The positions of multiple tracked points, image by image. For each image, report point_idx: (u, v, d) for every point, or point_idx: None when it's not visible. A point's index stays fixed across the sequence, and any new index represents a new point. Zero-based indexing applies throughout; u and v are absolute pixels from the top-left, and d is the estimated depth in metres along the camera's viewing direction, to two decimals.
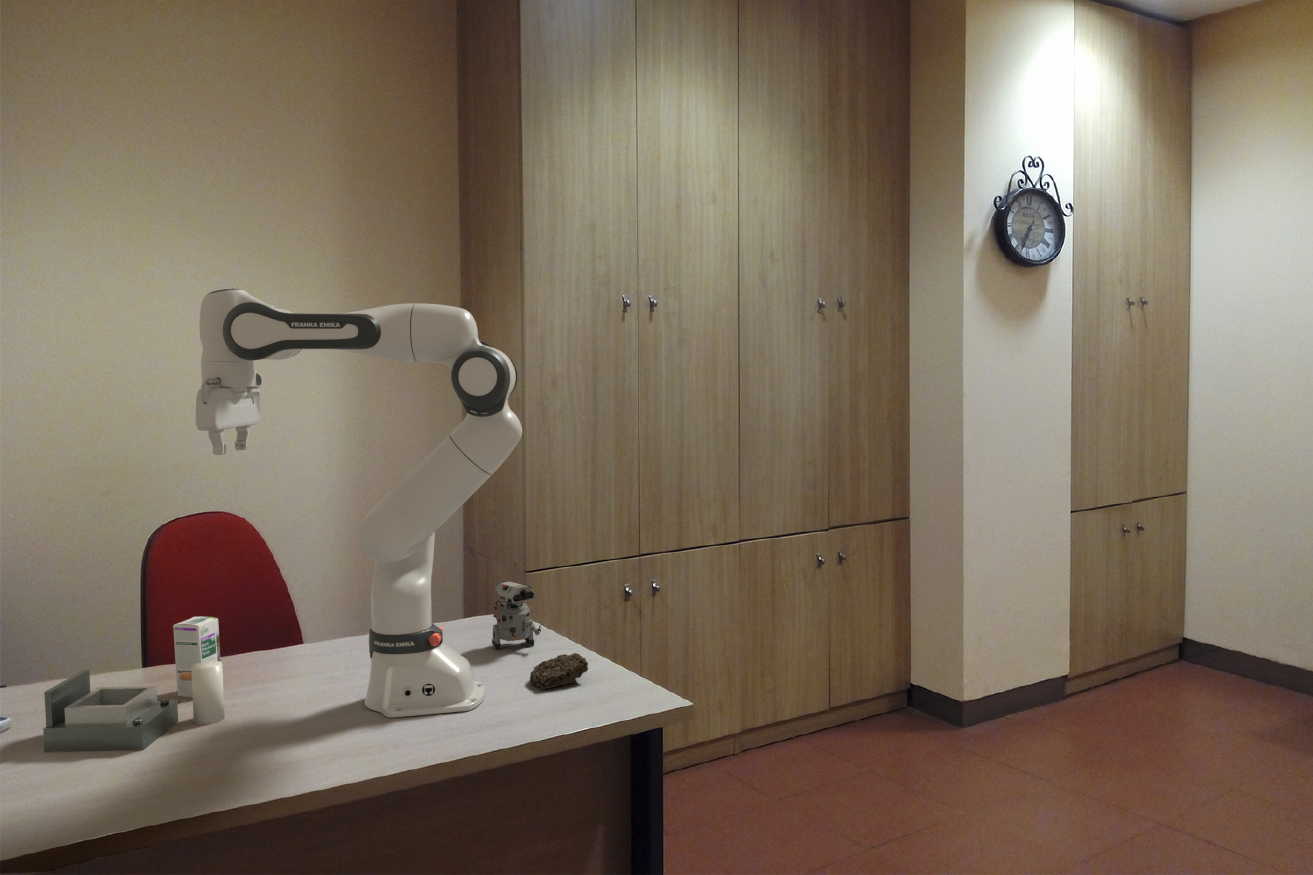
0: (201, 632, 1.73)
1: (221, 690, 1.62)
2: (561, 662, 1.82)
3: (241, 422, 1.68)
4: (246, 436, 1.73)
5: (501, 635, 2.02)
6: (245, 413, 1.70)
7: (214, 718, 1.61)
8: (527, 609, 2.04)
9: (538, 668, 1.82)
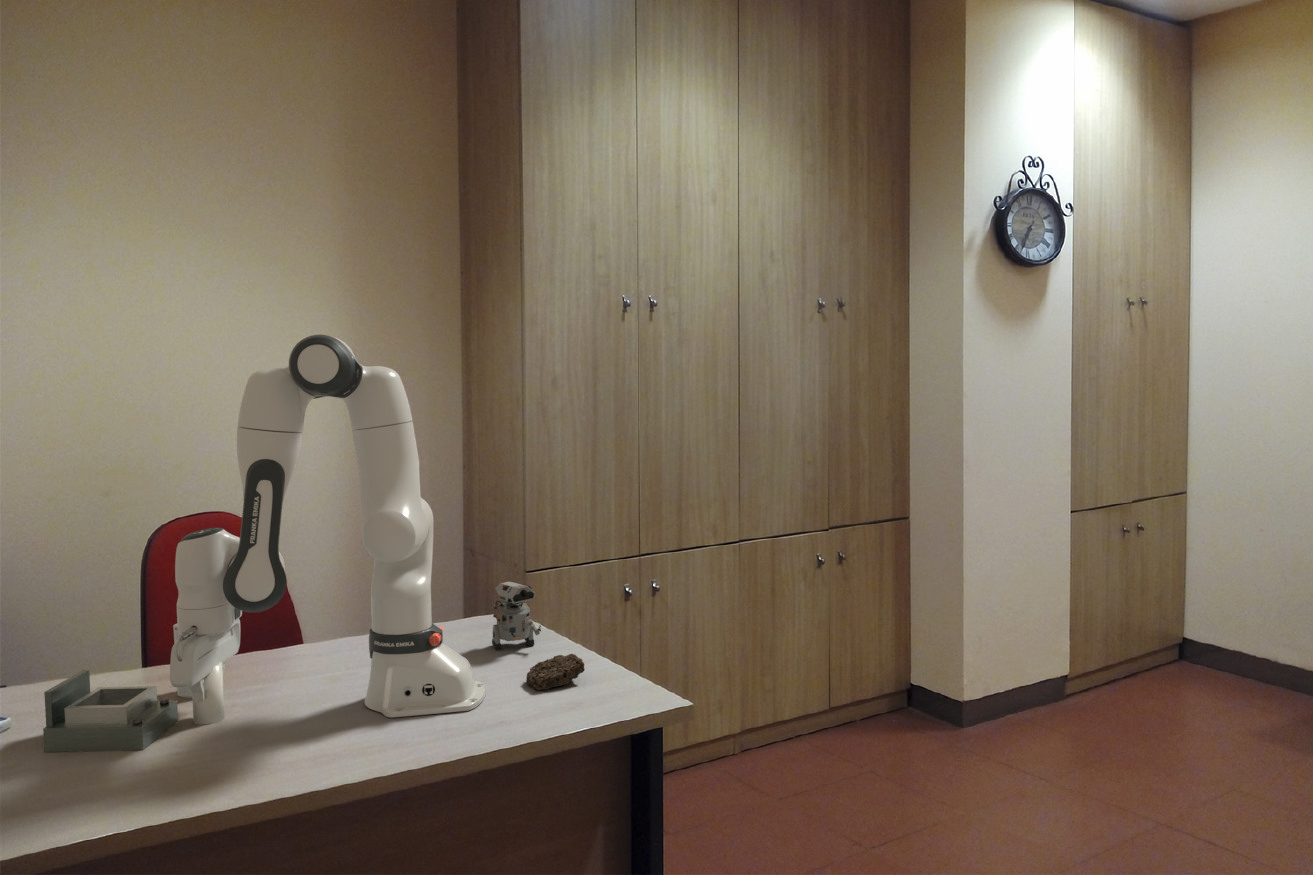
0: None
1: (221, 690, 1.62)
2: (557, 663, 1.82)
3: (219, 662, 1.63)
4: None
5: (501, 635, 2.02)
6: (223, 651, 1.65)
7: (214, 718, 1.61)
8: (527, 609, 2.04)
9: (534, 669, 1.82)
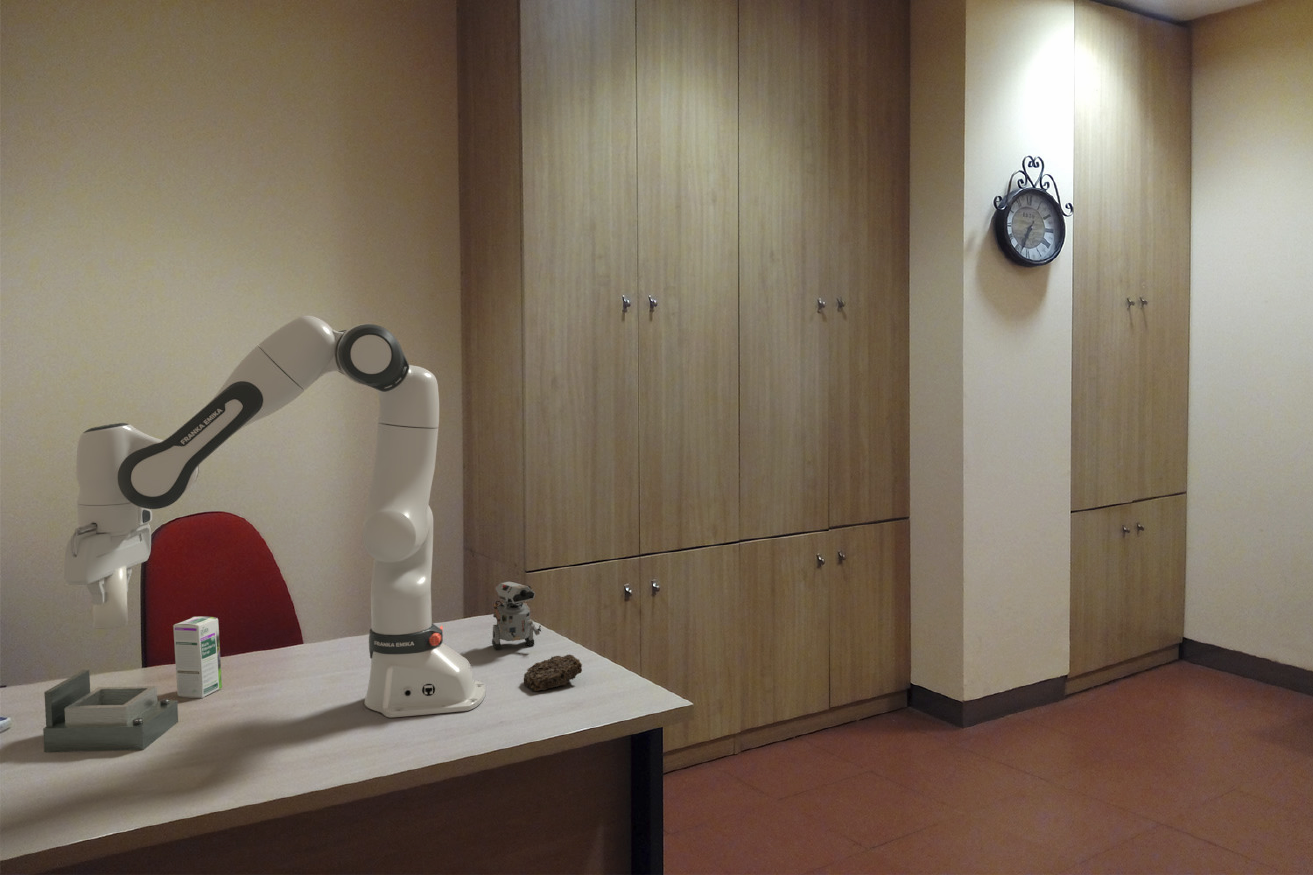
0: (201, 632, 1.73)
1: (124, 594, 1.54)
2: (555, 664, 1.81)
3: (123, 566, 1.54)
4: (127, 579, 1.57)
5: (501, 635, 2.02)
6: (129, 555, 1.56)
7: (115, 623, 1.52)
8: (527, 609, 2.04)
9: (532, 670, 1.81)
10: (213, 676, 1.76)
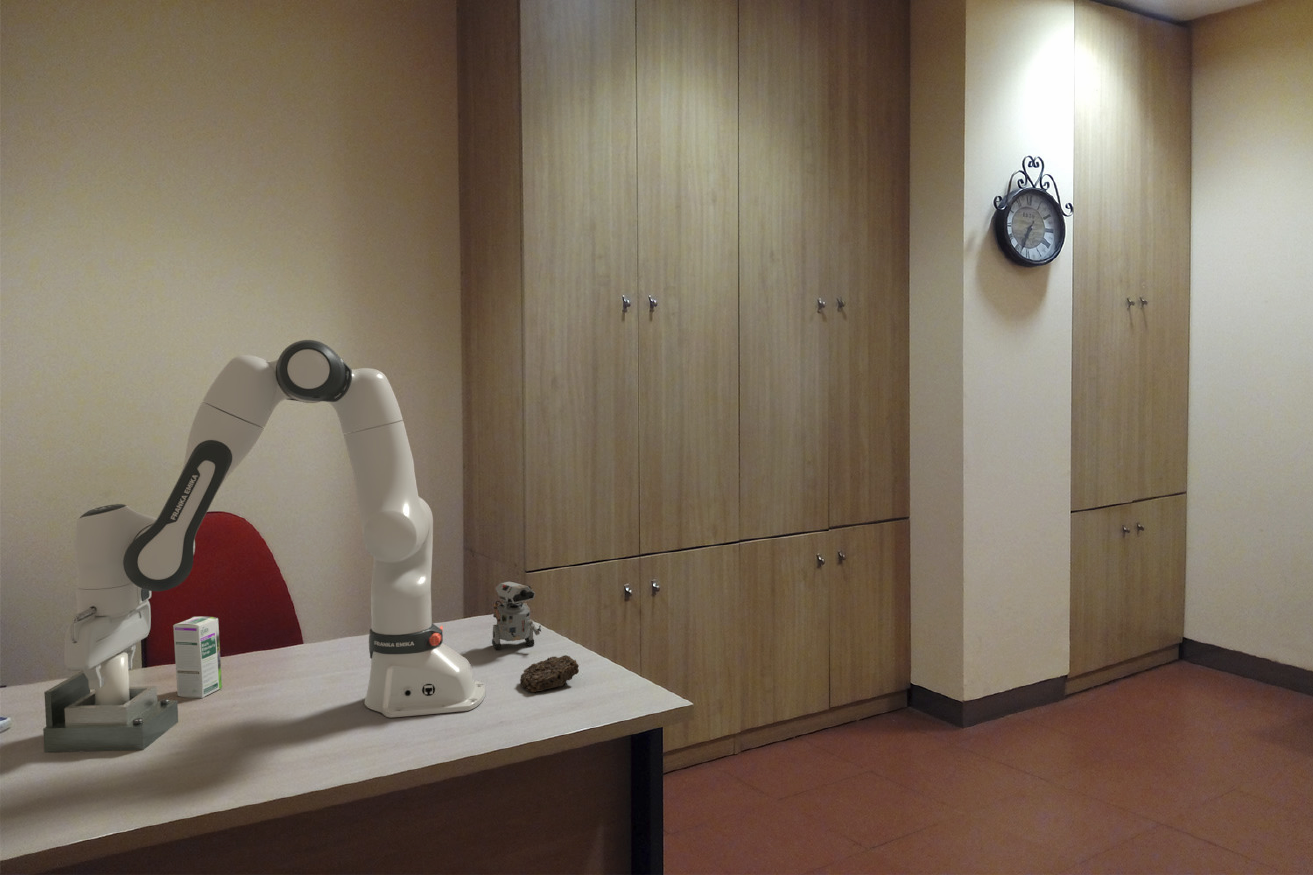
0: (201, 632, 1.73)
1: (126, 683, 1.55)
2: (551, 664, 1.81)
3: (123, 646, 1.55)
4: (131, 655, 1.59)
5: (501, 635, 2.02)
6: (129, 634, 1.57)
7: None
8: (527, 609, 2.04)
9: (528, 671, 1.81)
10: (213, 676, 1.76)
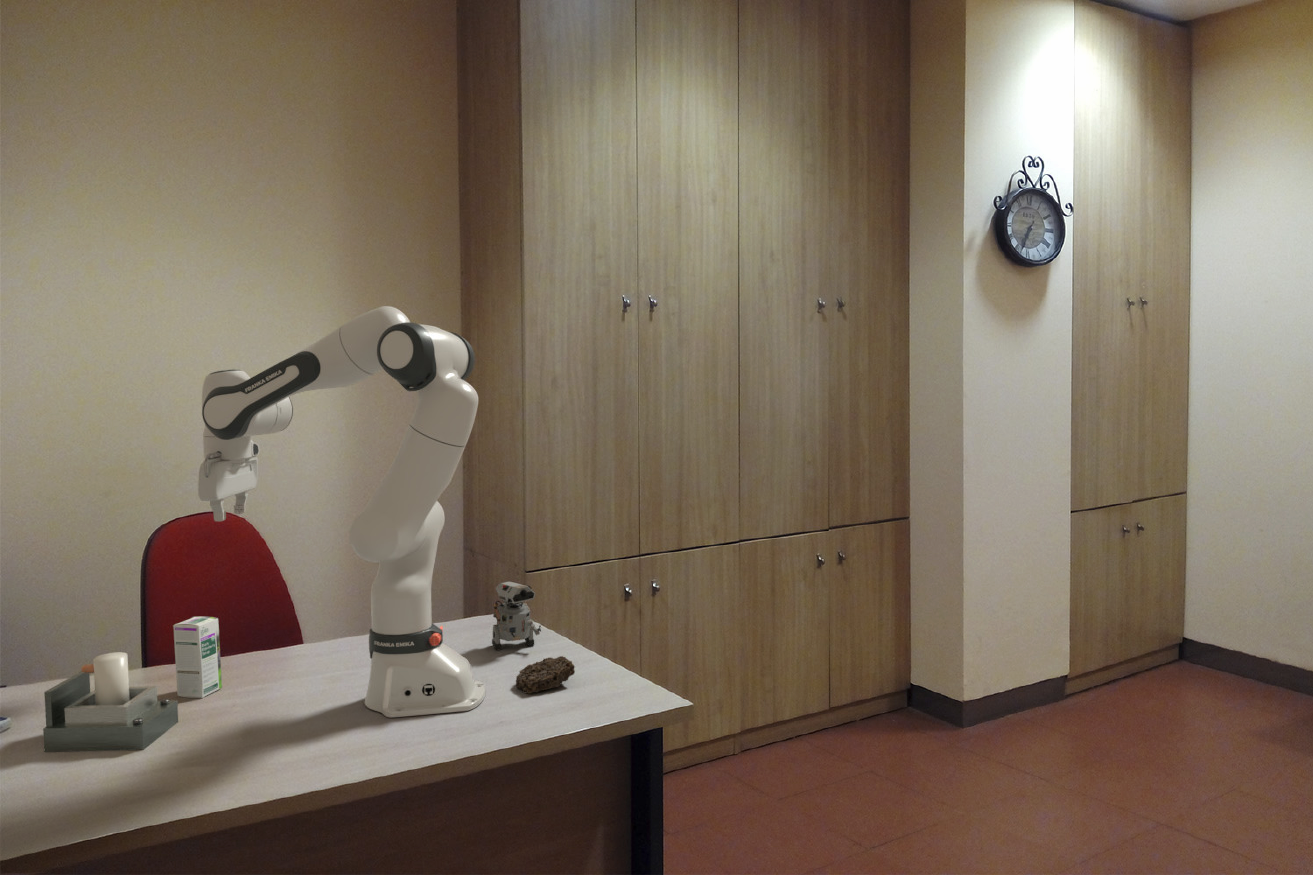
0: (201, 632, 1.73)
1: (126, 683, 1.55)
2: (547, 665, 1.80)
3: (239, 489, 1.85)
4: (244, 500, 1.89)
5: (501, 635, 2.02)
6: (243, 481, 1.86)
7: None
8: (527, 609, 2.04)
9: (524, 672, 1.80)
10: (213, 676, 1.76)
